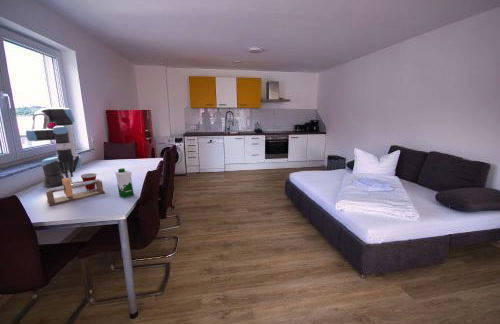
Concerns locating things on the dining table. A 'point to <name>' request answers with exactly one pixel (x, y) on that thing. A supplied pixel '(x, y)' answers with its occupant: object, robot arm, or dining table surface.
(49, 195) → the pipe stand
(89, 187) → the plastic cup
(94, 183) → the steel pipe
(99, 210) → the dining table surface
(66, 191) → the collar
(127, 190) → the milk carton
